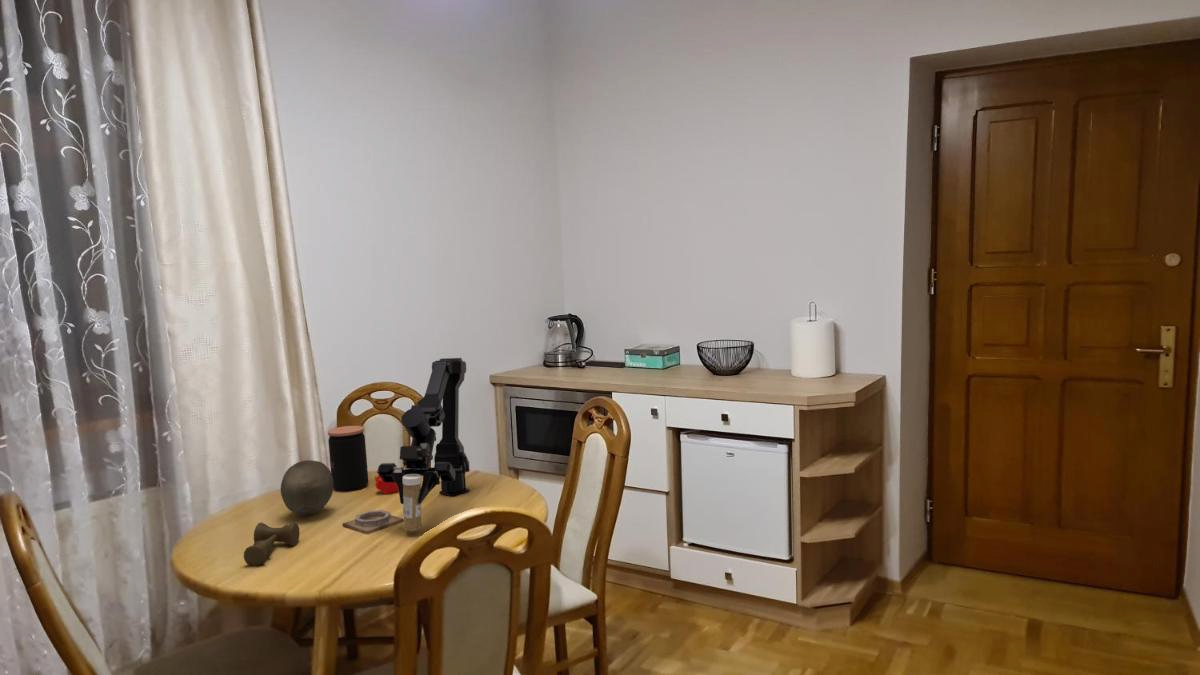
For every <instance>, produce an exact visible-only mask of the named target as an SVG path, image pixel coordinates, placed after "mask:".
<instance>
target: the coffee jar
mask: <svg viewBox="0 0 1200 675" xmlns="http://www.w3.org/2000/svg"><path fill="white" fill-rule="evenodd" d="M364 432H365V427H364V426H362V425H346V426H345V425H344V426H338V427H334V428H332V429H328V430H327V434H328V436H329V437H328V450H329V461H330V462H329V463H330V472H331V474H332V477H333V484H334V486H333V490H335V492H342V493H343V492H344V493H346V492H355V491H359V490H362V489H364V488H366V487H367V485H368V484H369V473H368V472H369V471H368V459H367V448H366V447H367V445H366V437H365V434H364Z"/></svg>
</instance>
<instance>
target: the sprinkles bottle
mask: <svg viewBox="0 0 1200 675" xmlns="http://www.w3.org/2000/svg"><path fill="white" fill-rule="evenodd" d="M422 482H423V479H422V476H421V475H419V474H407V475H404V476H403V504H402V505H403V507H402V508H403V512H402V513H403V520H404V522H403V527H402V528H403V530H405V531H408V532H410V531H411V532H414V531H418V530H421V528H422V503H421V504H419V503H418V499H419V494H420V490H421V486H422Z"/></svg>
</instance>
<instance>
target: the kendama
mask: <svg viewBox="0 0 1200 675" xmlns="http://www.w3.org/2000/svg"><path fill="white" fill-rule="evenodd" d="M299 540H300V527H299V524H298V523H297V522H292V523H290V524H285V525H283V526H282V527H271V526H269V525H268V524H266V523H263V522H262V521H261V522H259V523H257V524H256V525H255V529H254V531H253V544H252V545H249V546H248V547H246V548H245V550H244V551H243V558H244V562H245V563H246V564H247V565H248V566H250V567H260V566H262V565H264V564H265V563H266V561H267V558H268V557H270V556H271V554H272V552H273V547H272V546H273V545H274V543H276V542H281V543H283V544H287V545H288V546H291V547H294V546H296V545H297V544H298V542H299Z"/></svg>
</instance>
